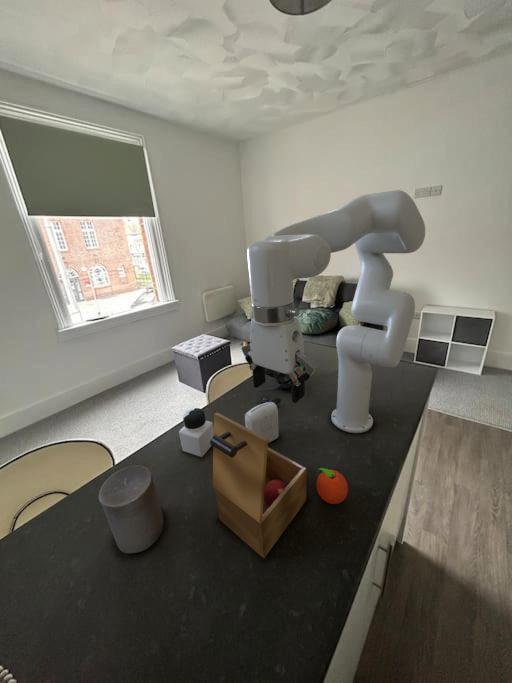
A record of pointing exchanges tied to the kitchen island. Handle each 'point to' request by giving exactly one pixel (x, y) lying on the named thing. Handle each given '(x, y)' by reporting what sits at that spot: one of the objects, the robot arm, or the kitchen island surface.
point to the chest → (275, 515)
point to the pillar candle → (132, 508)
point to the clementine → (331, 486)
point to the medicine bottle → (196, 432)
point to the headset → (282, 381)
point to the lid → (239, 465)
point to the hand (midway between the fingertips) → (277, 391)
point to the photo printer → (263, 420)
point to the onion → (273, 491)
